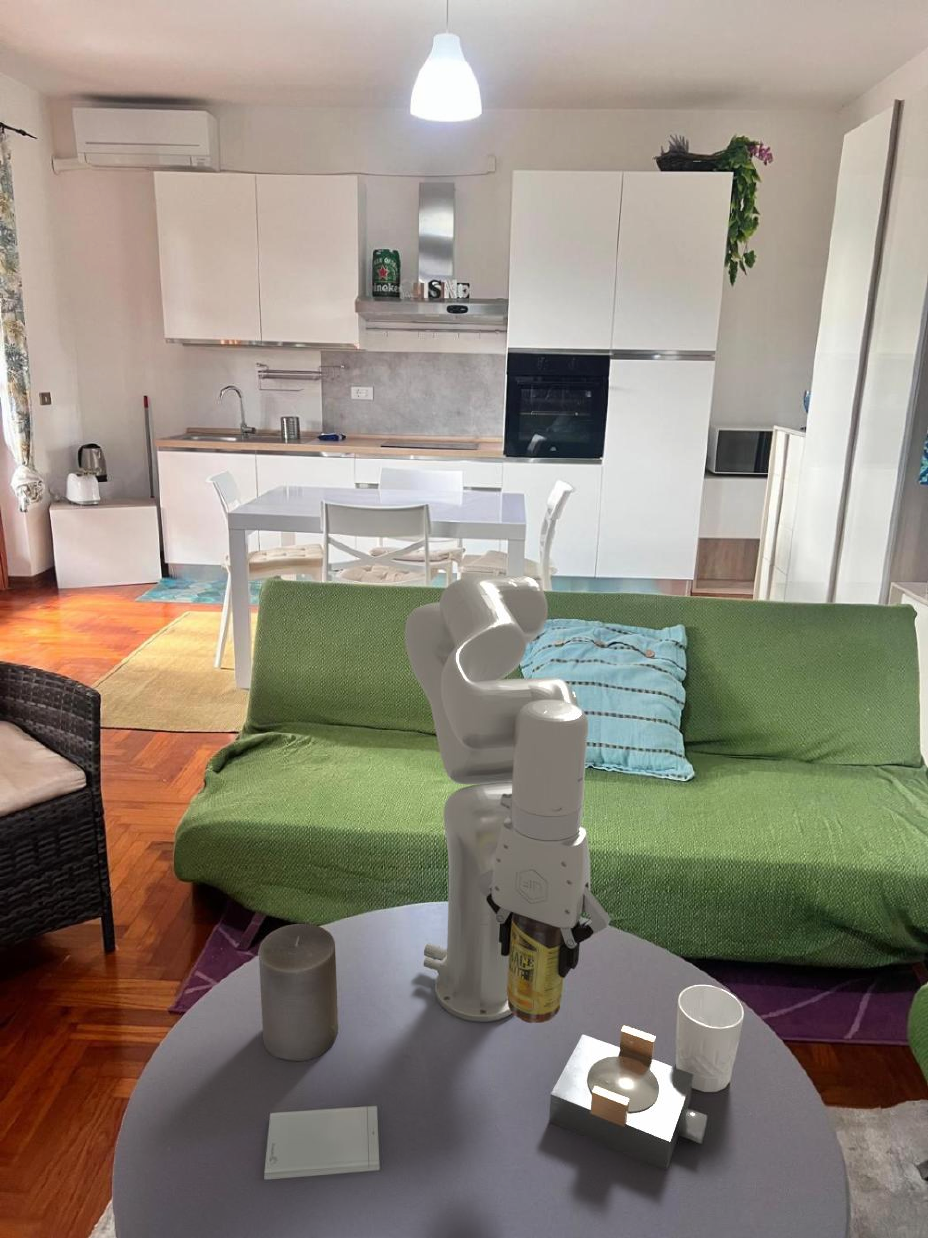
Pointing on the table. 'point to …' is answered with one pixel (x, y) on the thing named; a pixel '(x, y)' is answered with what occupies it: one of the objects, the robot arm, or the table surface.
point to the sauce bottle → (534, 970)
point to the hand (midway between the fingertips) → (537, 958)
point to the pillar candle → (298, 991)
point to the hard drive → (322, 1142)
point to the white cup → (708, 1035)
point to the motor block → (626, 1098)
